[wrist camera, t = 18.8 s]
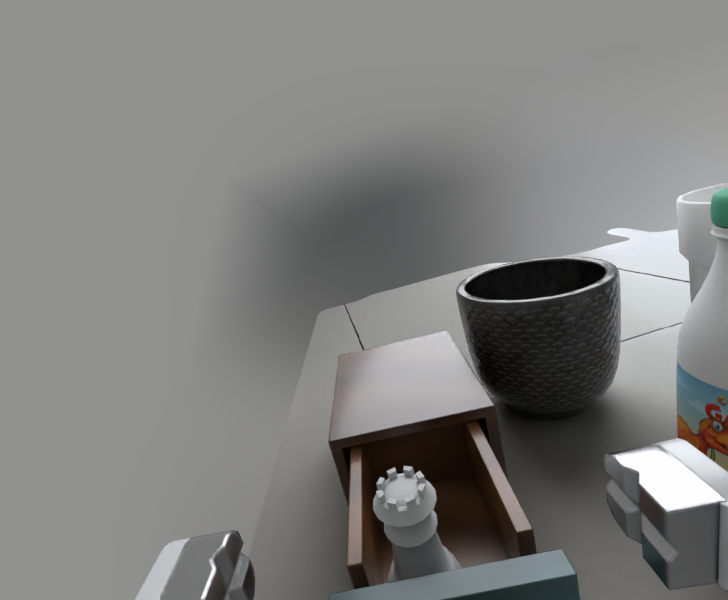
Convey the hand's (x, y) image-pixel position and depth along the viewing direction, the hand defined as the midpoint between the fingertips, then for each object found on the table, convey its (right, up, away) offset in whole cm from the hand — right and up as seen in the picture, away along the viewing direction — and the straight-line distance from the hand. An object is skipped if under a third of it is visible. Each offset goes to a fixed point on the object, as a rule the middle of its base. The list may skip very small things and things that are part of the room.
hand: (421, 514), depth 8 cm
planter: (+17, -5, +31) cm, 36 cm away
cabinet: (+4, -10, +27) cm, 29 cm away
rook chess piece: (+3, -12, +13) cm, 18 cm away
